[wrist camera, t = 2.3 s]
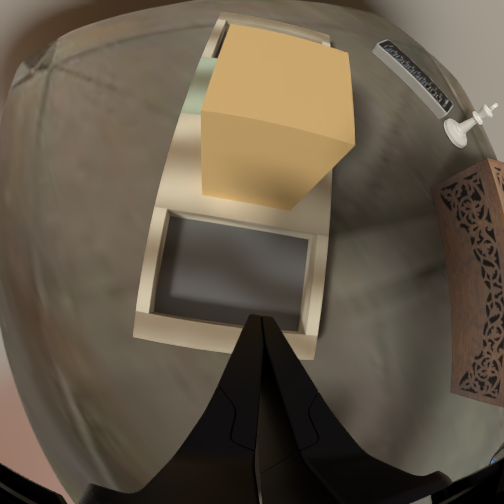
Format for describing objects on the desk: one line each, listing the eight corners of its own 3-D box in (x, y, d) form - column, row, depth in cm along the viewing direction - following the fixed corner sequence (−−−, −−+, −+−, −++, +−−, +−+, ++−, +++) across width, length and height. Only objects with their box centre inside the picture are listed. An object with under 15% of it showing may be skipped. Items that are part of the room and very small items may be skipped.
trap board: (303, 354, 23) (313, 360, 21) (140, 332, 22) (133, 336, 19) (323, 47, 30) (329, 35, 27) (219, 25, 28) (221, 11, 25)
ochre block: (289, 210, 22) (355, 145, 12) (202, 195, 22) (200, 110, 11) (296, 138, 24) (348, 53, 13) (218, 122, 23) (230, 24, 12)
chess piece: (467, 143, 32) (509, 116, 22) (457, 152, 31) (504, 123, 21) (450, 117, 32) (489, 86, 22) (439, 124, 31) (482, 90, 21)
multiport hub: (381, 47, 33) (388, 38, 30) (445, 111, 33) (454, 104, 30) (369, 52, 32) (376, 43, 29) (438, 121, 32) (447, 114, 29)
